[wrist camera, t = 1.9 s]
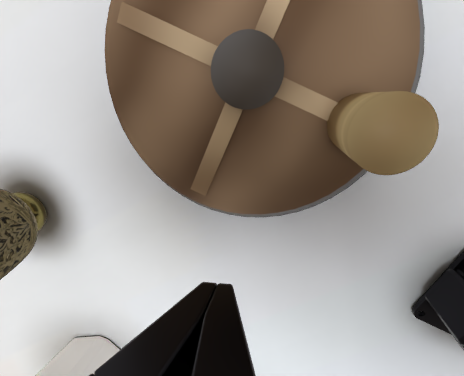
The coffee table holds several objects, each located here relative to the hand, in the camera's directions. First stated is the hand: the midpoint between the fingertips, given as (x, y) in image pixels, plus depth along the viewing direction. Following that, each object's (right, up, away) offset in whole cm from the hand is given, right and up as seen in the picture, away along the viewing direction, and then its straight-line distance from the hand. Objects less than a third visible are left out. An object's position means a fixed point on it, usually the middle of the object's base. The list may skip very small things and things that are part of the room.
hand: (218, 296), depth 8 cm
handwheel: (+1, +9, +8) cm, 12 cm away
